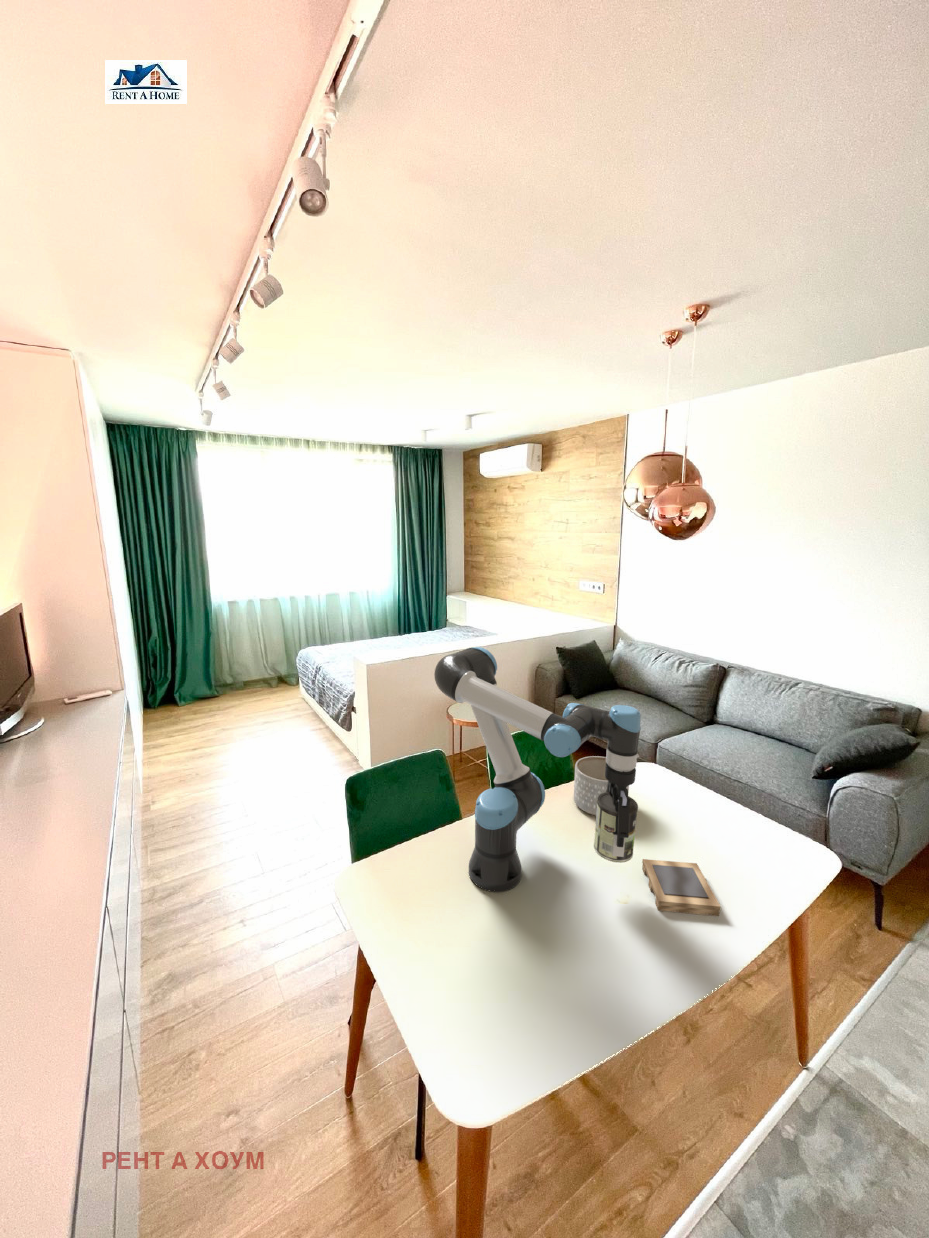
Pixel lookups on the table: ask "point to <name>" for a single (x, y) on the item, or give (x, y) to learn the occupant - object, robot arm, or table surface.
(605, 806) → the coffee can
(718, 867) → the table surface
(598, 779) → the planter
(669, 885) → the dock
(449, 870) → the table surface
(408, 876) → the table surface
